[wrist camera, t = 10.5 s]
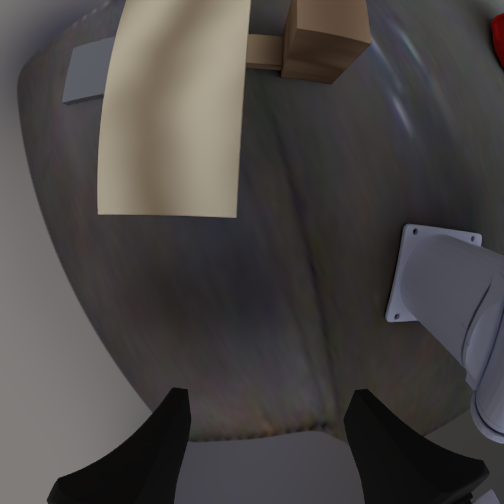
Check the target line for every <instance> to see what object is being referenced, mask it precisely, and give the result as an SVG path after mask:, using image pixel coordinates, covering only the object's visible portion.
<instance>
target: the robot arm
mask: <svg viewBox="0 0 504 504" xmlns="http://www.w3.org/2000/svg"><path fill="white" fill-rule="evenodd" d="M414 229H416V231H415V233H414V234H413V230H414ZM471 237H472V239H471ZM481 242H482V236H481V235H480V234H478V233H472V232H466V231H459V230H453V229H446V228H439V227H431V226H424V225H416V224H406V225H405V226H404V228H403V233H402V239H401V245H400V251H399V257H398V262H397V267H396V272H395V277H394V282H393V286H392V290H391V295H390V299H389V303H388V307H387V311H386V314H385V318H386V320H387V321H388V322H401V321H415V320H418V321H419V322H420V323H421V324H422V325H423V326H424V327H425V328H426V329H427V330H428V331H429V332H430V333H431V334H432V335H433V336H434V337H435V338H436V339H437V340H438V341H439V342H440V343H441V344H442V345H443V346H444V347H445V348H446V349H447V350H448V351H449V352H450V353H451V354H452V355H453V356H454V357H455V358H456V359H457V361H458V362H459V363H460V364H461V365H462V366H463V367H464V368H465V369H466V371H467V377H466V382H467V383H468V384H469V385H470V386H471V388H472V389H473V390H474V393H473V395H472V399H471V415H472V418H473V421H474V423H475V425H476V427H477V428H478V429H479V430H480V432H481V433H482V434H484V435H485V436H486V437H487V438H489V439H491V440H493V441H495V442H499V443H504V256H503V255H500V254H498V253H496V252H493V251H491V250H489V249H486V248H484V247H482V246H481ZM396 314H398V315H397V316H396V317H395V315H396ZM190 425H191V413H190V405H189V397H188V389H181V388H174V387H173V388H172V389H171V390H170V391H169V393H168V394H167V396H166V397H165V399H164V400H163V401H162V402H161V404H160V405H159V406H158V408H157V409H156V410H155V411H154V412H153V413H152V415H151V416H150V417H149V418H148V419H147V420H146V422H145V423H144V424H143V425H142V426H141V427H140V428H139V429H138V430H137V431H136V432H135V433H134V434H133V435H132V436H131V437H129V438H128V439H127V440H126V441H125V442H123V443H122V444H121V445H120V446H119V447H117V448H116V449H114V450H113V451H112V452H110V453H109V454H107V455H106V456H104V457H103V458H101V459H100V460H98V461H96V462H94V463H92V464H90V465H89V466H87V467H85V468H83V469H81V470H78V471H76V472H74V473H71V474H68V475H66V476H63V477H60V478H58V479H57V481H56V482H55V484H54V486H53V488H52V490H51V492H50V494H49V496H48V498H47V502H48V504H174V498H175V491H176V484H177V479H178V475H179V472H180V468H181V464H182V460H183V457H184V453H185V450H186V446H187V442H188V439H189V432H190ZM344 425H345V430H346V435H347V439H348V442H349V445H350V448H351V451H352V454H353V457H354V460H355V463H356V466H357V468H358V471H359V475H360V478H361V482H362V488H363V493H364V500H365V504H500V503H499V501H498V499H497V497H496V495H495V494H494V492H493V490H490V491H488V492H487V493H486V494H484V495H483V496H481V497H480V498H478V499H477V500H476V501H474V502H473V503H471V501H470V499H472V498H473V496H472V494H471V492H472V491H473V490H474V489H475V488H476V487H478V486H479V485H480V484H481V483H482V482H483V481H484V480H485V479H486V478H487V477H488V476H489V473H490V472H489V470H488V468H487V467H486V465H485V464H484V462H483V461H482V460H478V459H474V458H469V457H466V456H463V455H459V454H457V453H454V452H451V451H449V450H447V449H444V448H442V447H440V446H438V445H436V444H435V443H433V442H431V441H429V440H427V439H426V438H424V437H423V436H421V435H420V434H418V433H417V432H415V431H414V430H413V429H411V428H410V427H409V426H408V425H406V424H405V423H404V422H403V421H401V420H400V419H399V418H398V417H397V416H396V415H394V414H393V413H392V412H391V411H390V410H389V409H388V408H387V407H386V406H385V405H384V404H383V403H382V402H381V401H379V400H378V399H377V398H376V397H375V396H374V395H373V394H372V393H371V392H370V391H369V390H368V389H361V390H355V392H354V394H353V397H352V399H351V402H350V404H349V407H348V409H347V412H346V414H345V417H344Z"/></svg>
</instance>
